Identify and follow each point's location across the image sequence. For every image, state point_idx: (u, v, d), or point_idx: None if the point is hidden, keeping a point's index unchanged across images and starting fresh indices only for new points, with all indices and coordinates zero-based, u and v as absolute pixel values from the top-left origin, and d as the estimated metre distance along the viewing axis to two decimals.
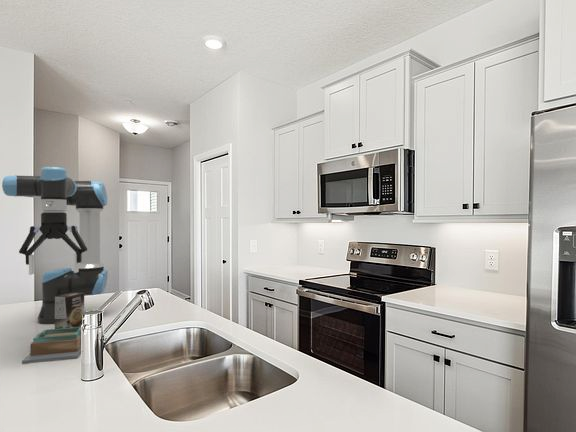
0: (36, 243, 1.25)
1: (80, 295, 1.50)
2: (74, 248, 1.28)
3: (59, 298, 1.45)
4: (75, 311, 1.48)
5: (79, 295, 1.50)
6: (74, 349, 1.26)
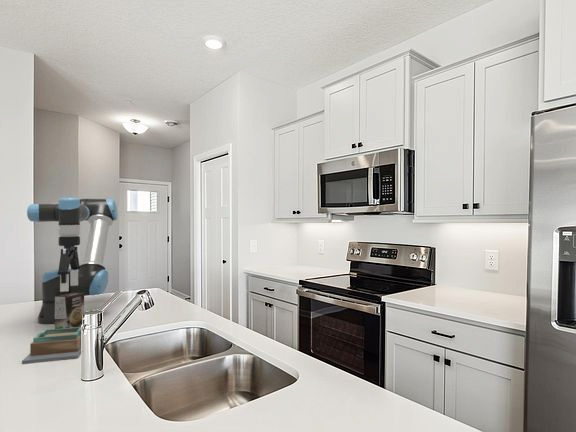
0: None
1: (80, 295, 1.50)
2: None
3: (59, 298, 1.45)
4: (75, 311, 1.48)
5: (79, 295, 1.50)
6: (74, 349, 1.26)
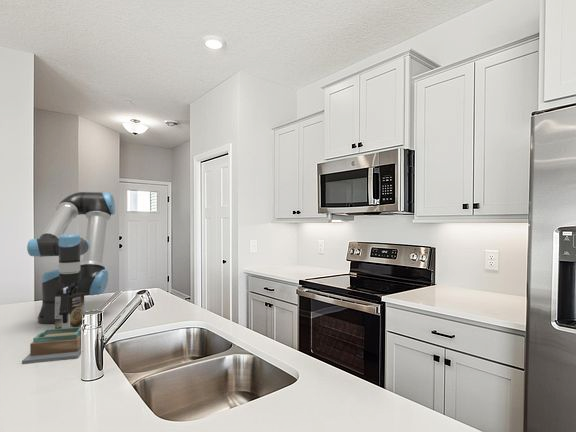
0: None
1: (80, 295, 1.50)
2: None
3: (59, 298, 1.45)
4: (75, 311, 1.48)
5: (79, 295, 1.50)
6: (74, 349, 1.26)
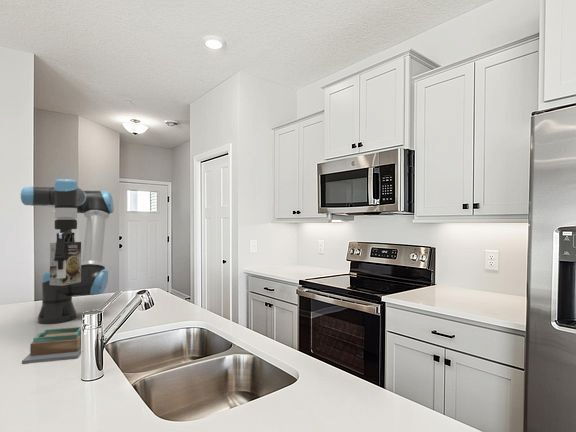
0: None
1: (77, 243, 1.44)
2: None
3: (54, 244, 1.38)
4: (72, 259, 1.41)
5: (76, 243, 1.43)
6: (74, 349, 1.26)
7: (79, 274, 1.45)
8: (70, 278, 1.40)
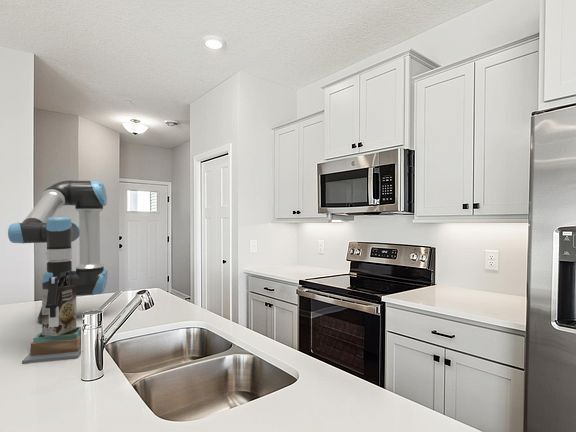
0: None
1: (71, 288, 1.32)
2: None
3: (47, 291, 1.26)
4: (66, 306, 1.29)
5: (70, 288, 1.31)
6: (74, 349, 1.26)
7: (74, 320, 1.33)
8: (64, 327, 1.28)
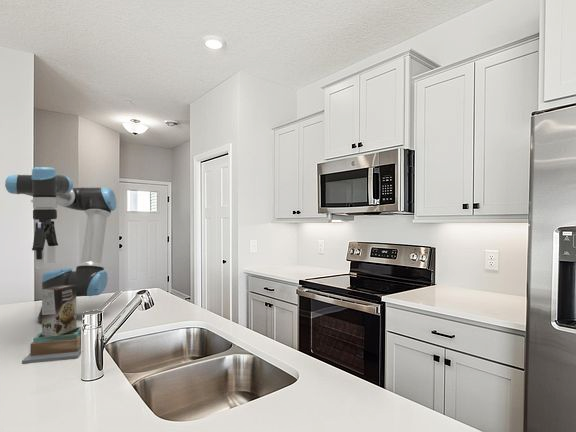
0: None
1: (71, 288, 1.32)
2: None
3: (47, 291, 1.26)
4: (66, 306, 1.29)
5: (70, 288, 1.31)
6: (74, 349, 1.26)
7: (74, 320, 1.33)
8: (64, 327, 1.28)
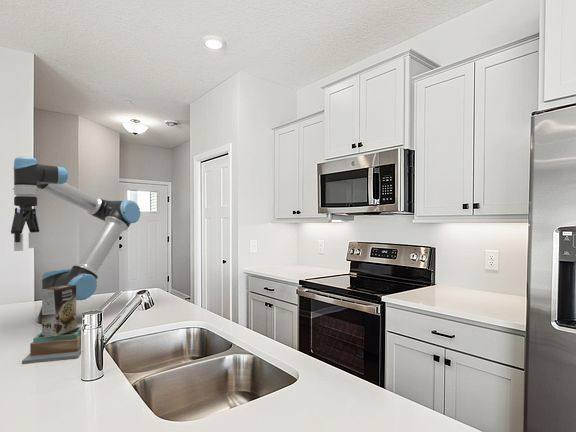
0: None
1: (71, 288, 1.32)
2: None
3: (47, 291, 1.26)
4: (66, 306, 1.29)
5: (70, 288, 1.31)
6: (74, 349, 1.26)
7: (74, 320, 1.33)
8: (64, 327, 1.28)
